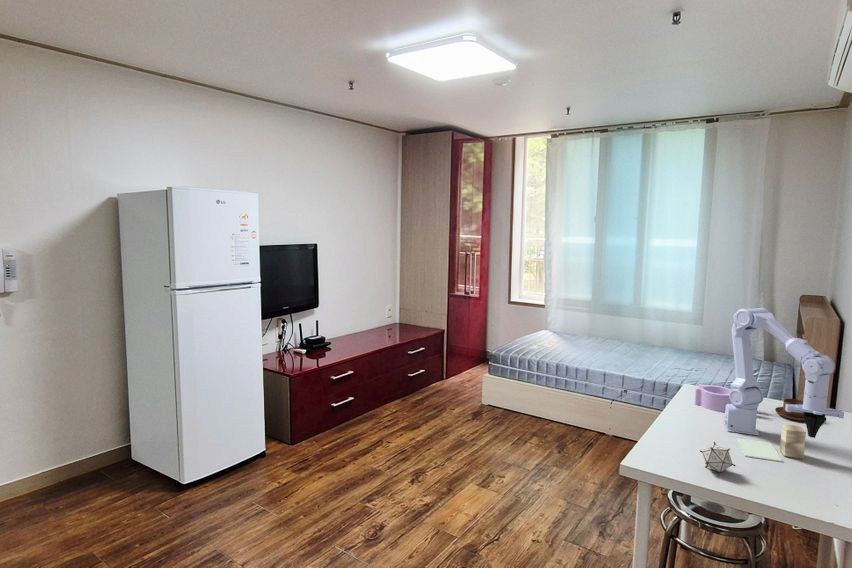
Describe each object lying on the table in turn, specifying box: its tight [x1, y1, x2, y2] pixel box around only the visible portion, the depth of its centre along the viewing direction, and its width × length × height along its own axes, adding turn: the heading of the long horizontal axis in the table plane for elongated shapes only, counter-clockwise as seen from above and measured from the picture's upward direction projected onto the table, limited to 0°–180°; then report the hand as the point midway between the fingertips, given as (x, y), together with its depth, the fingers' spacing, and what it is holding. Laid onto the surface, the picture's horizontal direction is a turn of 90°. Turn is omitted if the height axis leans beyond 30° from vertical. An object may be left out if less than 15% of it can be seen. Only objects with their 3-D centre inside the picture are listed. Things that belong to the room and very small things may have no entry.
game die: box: [699, 441, 737, 476], centre depth 148 cm, size 9×8×10 cm
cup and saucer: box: [774, 398, 805, 422], centre depth 190 cm, size 12×12×6 cm
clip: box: [693, 383, 732, 413], centre depth 200 cm, size 20×12×7 cm, turn 50°
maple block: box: [779, 423, 807, 461], centre depth 158 cm, size 5×5×9 cm
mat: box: [735, 437, 784, 463], centre depth 162 cm, size 10×14×1 cm
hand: (811, 436), depth 156 cm, fingers closed
